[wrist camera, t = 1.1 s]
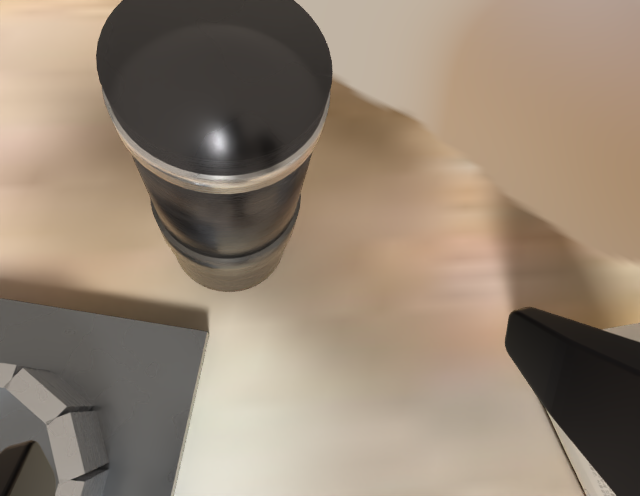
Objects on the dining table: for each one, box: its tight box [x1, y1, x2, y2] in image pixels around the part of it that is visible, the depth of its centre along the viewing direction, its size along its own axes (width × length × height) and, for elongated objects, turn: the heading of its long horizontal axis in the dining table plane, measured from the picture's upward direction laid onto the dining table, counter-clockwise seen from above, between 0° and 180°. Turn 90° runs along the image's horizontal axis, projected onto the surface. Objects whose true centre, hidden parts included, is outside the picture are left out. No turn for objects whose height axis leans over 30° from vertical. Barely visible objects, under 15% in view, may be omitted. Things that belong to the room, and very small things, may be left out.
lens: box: [96, 0, 332, 292], centre depth 17 cm, size 6×6×13 cm
